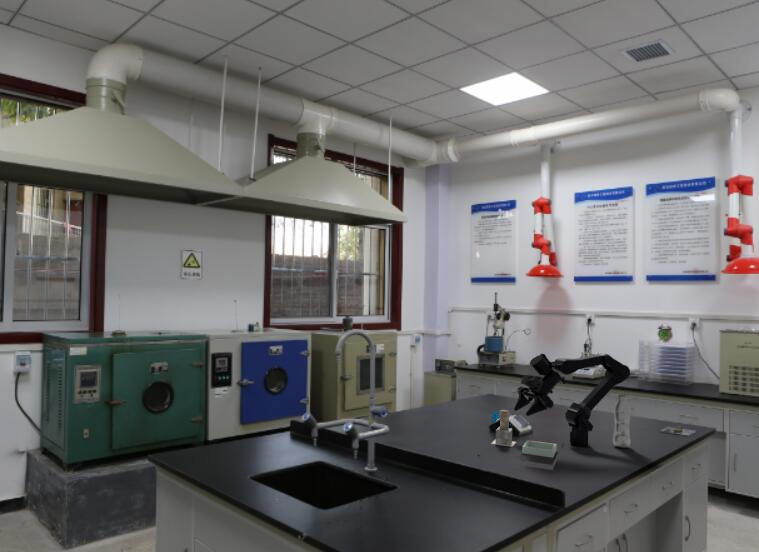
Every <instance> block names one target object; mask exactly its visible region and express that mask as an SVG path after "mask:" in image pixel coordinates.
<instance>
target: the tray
mask: <svg viewBox="0 0 759 552" xmlns="http://www.w3.org/2000/svg"><path fill="white" fill-rule="evenodd" d="M557 448H558V444H557V443H550V442H544V441H543V442H542V441H535V440H526V441H525V442H524V444H523V445H522V449H521V453H522V454H526V455H531V456H539V457H545V458H546V457H547V458H554V457H555V455H556V453H557Z"/></svg>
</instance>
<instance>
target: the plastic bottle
mask: <svg viewBox="0 0 759 552" xmlns="http://www.w3.org/2000/svg"><path fill="white" fill-rule="evenodd" d="M616 400H617V402H616V403H615V405H613V406H614V407H613V416H614V429H613V434H612V435H613V436H612V443H613V446H615V447H618V448H623V449H624V448H626V449H627V448H629V447H630V446H631V442H632V441H631V436H630V419H631V415H632V408H631V406H630V404H629V403H628V400H629V399H628V395H625V394H617V399H616Z"/></svg>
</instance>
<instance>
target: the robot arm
mask: <svg viewBox="0 0 759 552" xmlns="http://www.w3.org/2000/svg"><path fill="white" fill-rule="evenodd" d="M529 365H530V366H531V367H532V369H534V371H535V372H536V373H537V374H538V376H542V378H540V379H539V378H538V377H535V376H533V377H530V376H526V375H523V377H522V379H521V381H520V384H522V385H525V386H522V385H520V386H519V387H517V389H516V390H517V394H518V398H517V401H516V403H515V406H514V407H513V410H514V411H515V412H517V411H519V410H520V409H522V408H524V407H526V406H528V405H529V404H531V402H532V401H533V403H532V404H531V406H530V407H529V408H528V410H527V411H526V413H525V416H526V417H529V416H531V415H534V414H537V413H540V412H543V411H547V410H551V409H552V408H553V407H554V403H555V402H554V401H553V399H552V398H551V397H550V396H549V394H553V393H554V391H553V390H554V388H555V387H556V386H557V385H558V384H562V385H566V380H565V379H566V377H565V376H561V374H562V375H566V376H569V375H571V374H575V373H576V372H577V371H579V370H581V369H587V368H592V367H597V366H602V368H603V369H604V370H605V371H604V376H603V379H602V380H601V381H600V382H599V383H598V384H597V385H596V386H595V387H594V388H593V389H592V390H591V391H590V393H588V394H587V395H586V397H585V398H584V399H583V400H582V401H581V402H579V403H577V402H572V403H571V405H570V406H569V407H567V408H566V410H567V411H566V412H565V414H564V415H565V420H566V422H567V423H568V426H569V427H570V428H571V430H570V431H569V443H570V446H576V445H577V447H585V448H589V446H590V442H589V439H590V437H589V436H590V432H592V431H593V429H594V425H593V424H592V422H591V421H589V420H590V419H591V414H592V412H593V410H594V409H595V408H596V407H597V405H598V404H599V403H600V402H601V401H602V400H603V399H604V398H605V396H607V394H608V393H610V391H612V389H613V388H614V387H615V386H617V385H619V384H622V383H624V382H625V381H626V380H627V379H629V377H630V376H631V370H630V368H629V366H628V365H626V364H623V363H622V362H620V361H618V360H616V359H615V358H614V357H612V356H611V355H610V354H607V353H603V352H602V353H599V354H594V355H589V356H583V357H577V358H566V357H564V358H556V359H555V360H554V361H550V359H548V357H547V355H546V354H545V353H540V354H539V355H536V356H535V357H532V359H531V360H530V361H529Z"/></svg>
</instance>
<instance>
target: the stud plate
mask: <svg viewBox="0 0 759 552" xmlns="http://www.w3.org/2000/svg"><path fill="white" fill-rule="evenodd" d="M516 443H517V441H513V440H512V443H511V444H510V445H504V444H497V443H496V438H495V439H494V440H493V441H492V442H491V445H498V446H504V447H510V448H511V447H512V448H513V446H514V445H515V444H516Z"/></svg>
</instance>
